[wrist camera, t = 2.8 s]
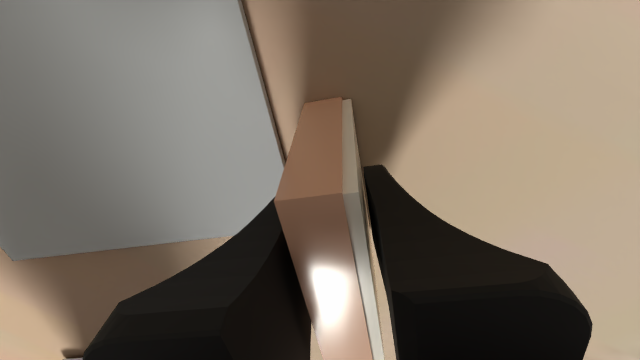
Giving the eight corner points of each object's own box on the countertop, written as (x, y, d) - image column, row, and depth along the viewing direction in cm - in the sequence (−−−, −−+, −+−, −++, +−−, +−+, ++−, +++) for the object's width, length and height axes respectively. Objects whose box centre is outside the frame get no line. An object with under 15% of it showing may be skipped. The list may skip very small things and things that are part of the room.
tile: (370, 232, 14) (386, 374, 9) (333, 236, 14) (328, 377, 9) (350, 94, 11) (358, 190, 6) (304, 102, 11) (274, 201, 6)
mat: (301, 222, 14) (300, 227, 14) (19, 255, 16) (12, 260, 16) (161, -293, 7) (152, -307, 7) (-304, -121, 9) (-330, -126, 9)
